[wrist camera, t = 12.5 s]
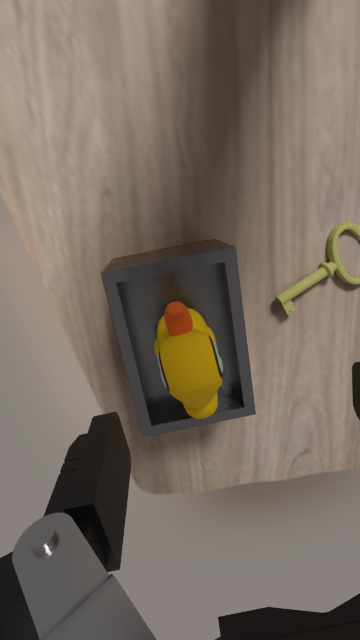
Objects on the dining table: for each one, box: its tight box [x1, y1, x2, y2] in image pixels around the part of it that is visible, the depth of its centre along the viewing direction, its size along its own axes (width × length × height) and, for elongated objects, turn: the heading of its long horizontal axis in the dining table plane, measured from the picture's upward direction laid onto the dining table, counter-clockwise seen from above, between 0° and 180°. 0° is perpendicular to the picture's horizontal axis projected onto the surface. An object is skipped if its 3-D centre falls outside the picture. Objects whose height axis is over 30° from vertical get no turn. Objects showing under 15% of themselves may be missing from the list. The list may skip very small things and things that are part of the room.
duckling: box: [154, 301, 223, 419], centre depth 26 cm, size 11×5×10 cm, turn 15°
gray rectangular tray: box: [101, 239, 256, 437], centre depth 33 cm, size 11×16×9 cm
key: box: [276, 222, 360, 315], centre depth 37 cm, size 7×12×2 cm, turn 140°
